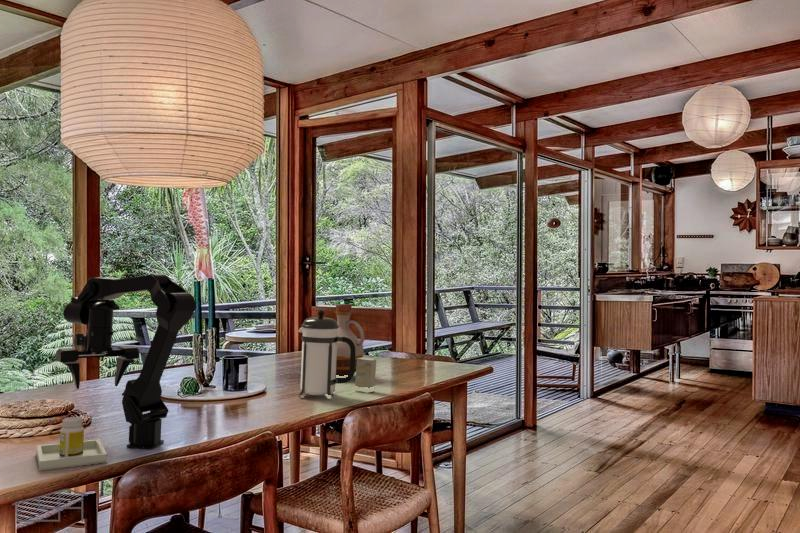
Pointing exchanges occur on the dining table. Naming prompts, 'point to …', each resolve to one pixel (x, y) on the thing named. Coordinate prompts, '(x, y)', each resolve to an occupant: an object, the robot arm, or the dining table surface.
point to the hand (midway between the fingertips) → (97, 387)
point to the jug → (343, 347)
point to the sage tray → (51, 459)
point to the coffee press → (322, 355)
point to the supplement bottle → (71, 437)
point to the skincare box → (365, 372)
